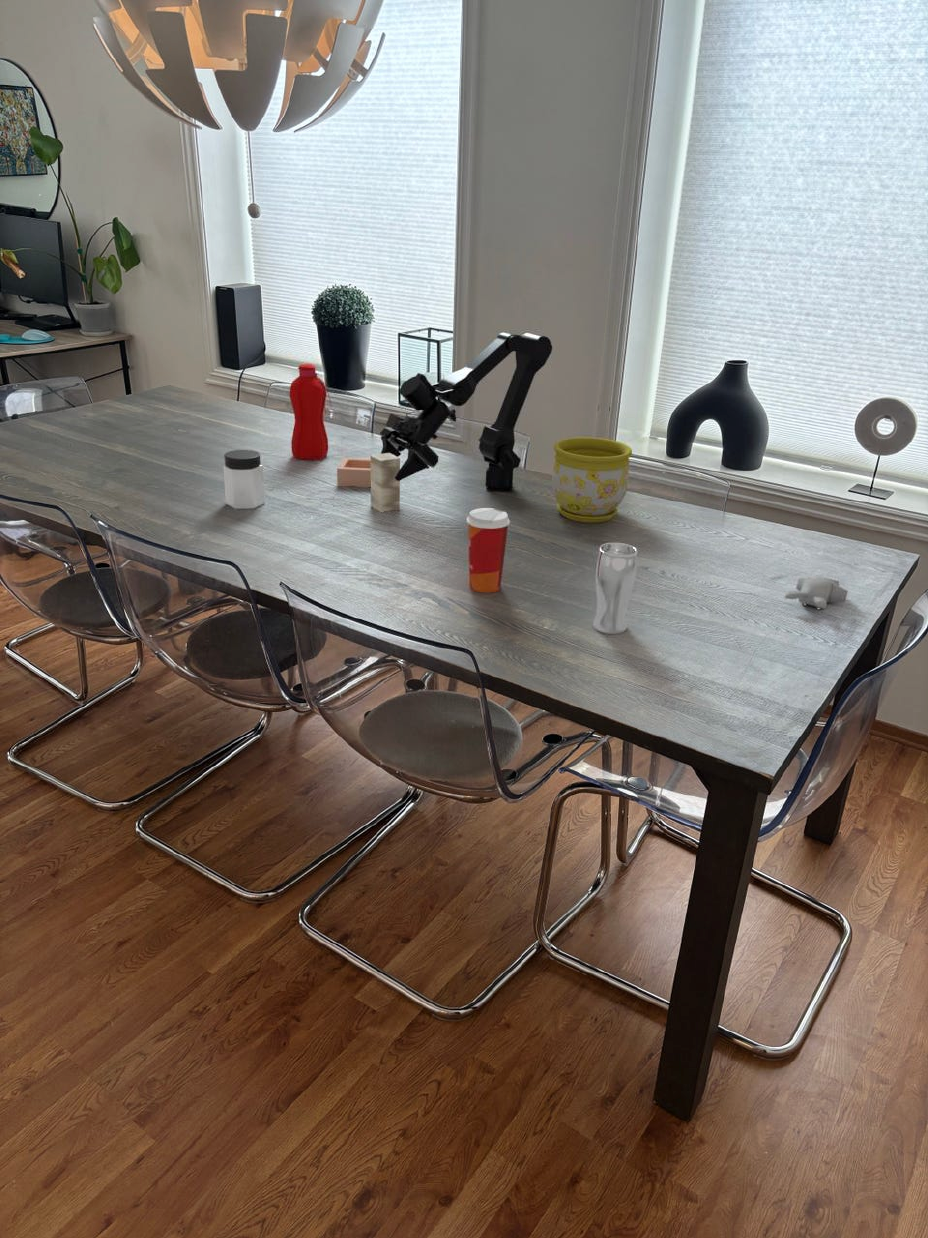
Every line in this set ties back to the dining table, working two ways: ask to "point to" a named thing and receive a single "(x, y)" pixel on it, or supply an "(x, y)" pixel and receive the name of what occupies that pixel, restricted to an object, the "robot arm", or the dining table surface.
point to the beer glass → (614, 586)
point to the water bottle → (308, 415)
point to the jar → (243, 479)
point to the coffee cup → (486, 548)
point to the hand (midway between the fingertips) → (386, 474)
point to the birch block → (385, 482)
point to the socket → (354, 472)
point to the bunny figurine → (818, 591)
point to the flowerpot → (590, 477)
